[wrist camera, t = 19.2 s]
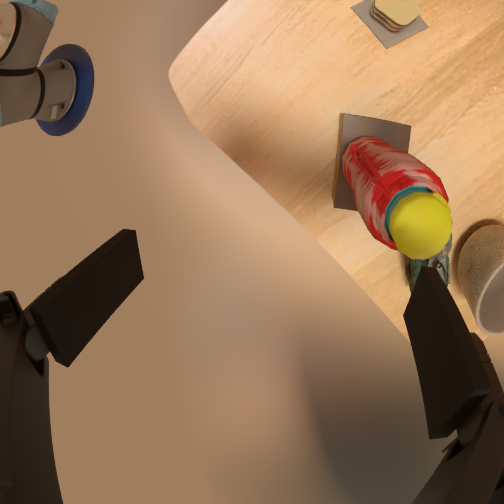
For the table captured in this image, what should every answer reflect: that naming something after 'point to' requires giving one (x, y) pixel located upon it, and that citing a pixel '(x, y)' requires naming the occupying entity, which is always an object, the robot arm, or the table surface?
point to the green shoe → (431, 265)
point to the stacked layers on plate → (391, 19)
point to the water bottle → (398, 197)
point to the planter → (484, 277)
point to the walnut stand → (353, 130)
